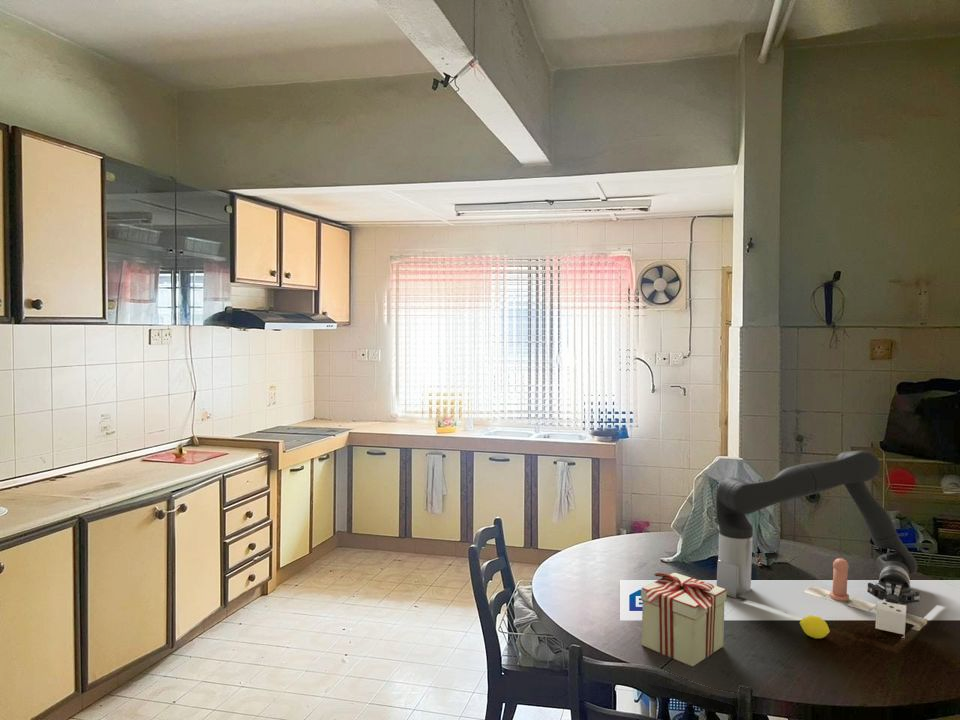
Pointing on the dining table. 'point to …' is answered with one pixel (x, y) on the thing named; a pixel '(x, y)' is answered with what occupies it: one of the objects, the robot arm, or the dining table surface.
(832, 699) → the dining table surface
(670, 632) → the gift box
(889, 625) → the die
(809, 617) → the lemon
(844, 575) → the pawn
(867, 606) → the board
